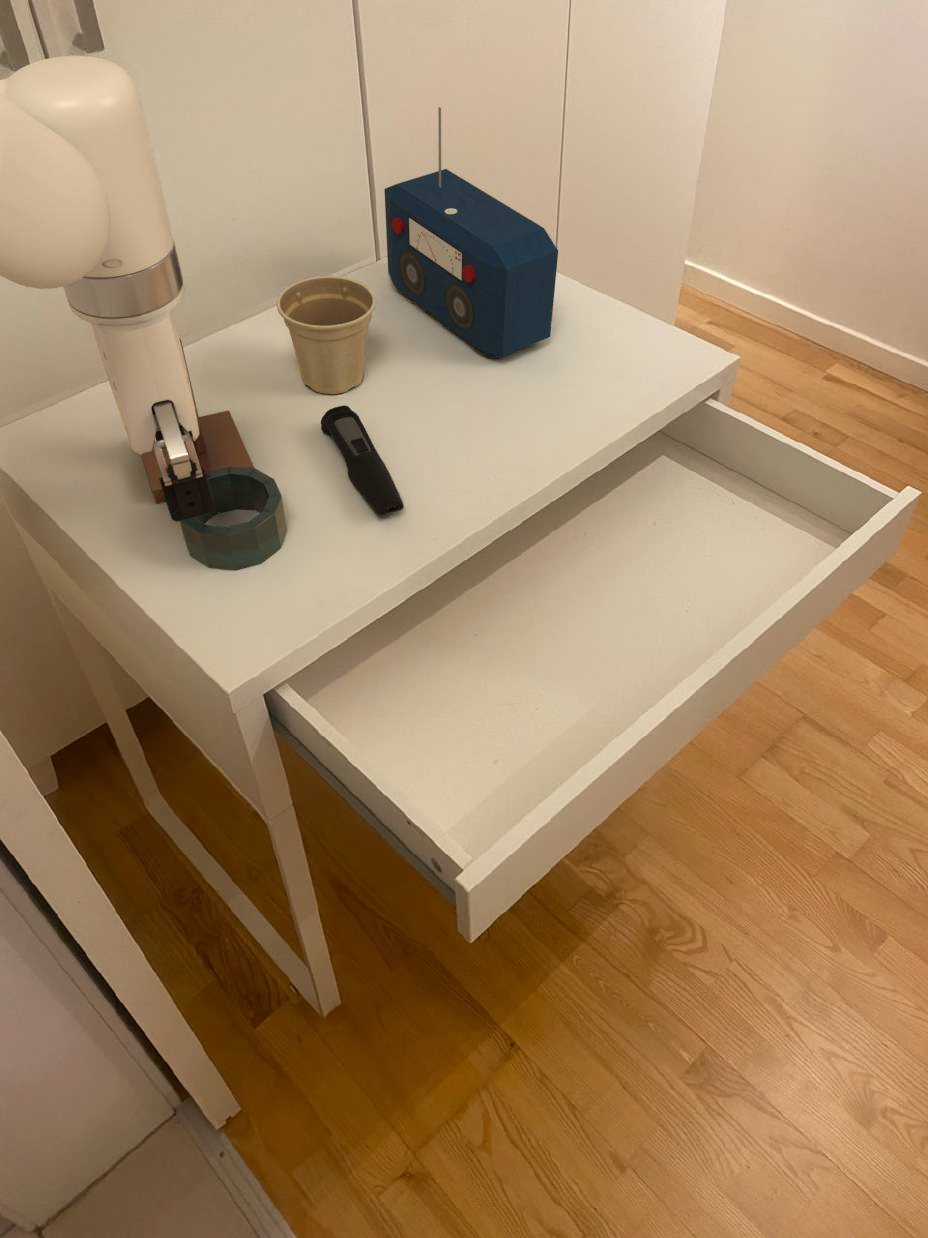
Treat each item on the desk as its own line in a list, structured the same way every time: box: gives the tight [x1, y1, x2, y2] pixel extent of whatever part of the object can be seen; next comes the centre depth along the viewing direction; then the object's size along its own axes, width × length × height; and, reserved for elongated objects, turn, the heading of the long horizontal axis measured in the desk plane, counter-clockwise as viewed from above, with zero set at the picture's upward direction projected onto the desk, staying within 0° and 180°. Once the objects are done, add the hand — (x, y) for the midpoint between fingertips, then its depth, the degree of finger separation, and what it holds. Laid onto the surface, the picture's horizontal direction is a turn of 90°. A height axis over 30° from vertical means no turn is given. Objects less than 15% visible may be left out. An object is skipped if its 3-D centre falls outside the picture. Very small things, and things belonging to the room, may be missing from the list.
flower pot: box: [276, 275, 377, 395], centre depth 94 cm, size 9×9×9 cm
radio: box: [383, 106, 559, 359], centre depth 98 cm, size 21×9×20 cm, turn 37°
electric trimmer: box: [320, 405, 405, 517], centre depth 87 cm, size 4×16×3 cm, turn 23°
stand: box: [139, 337, 255, 504], centre depth 84 cm, size 9×9×12 cm
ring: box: [178, 466, 288, 571], centre depth 80 cm, size 8×8×4 cm
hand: (179, 475), depth 76 cm, fingers open, 9 cm apart
